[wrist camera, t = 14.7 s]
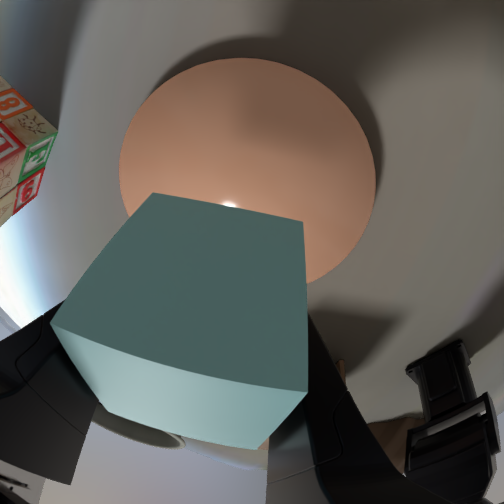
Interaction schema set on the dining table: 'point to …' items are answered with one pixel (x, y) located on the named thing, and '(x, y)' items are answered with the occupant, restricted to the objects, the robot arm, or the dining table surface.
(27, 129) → the stack of blocks
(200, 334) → the block
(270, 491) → the robot arm
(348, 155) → the dish
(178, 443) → the cake pan
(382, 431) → the decorative dome
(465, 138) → the dining table surface
